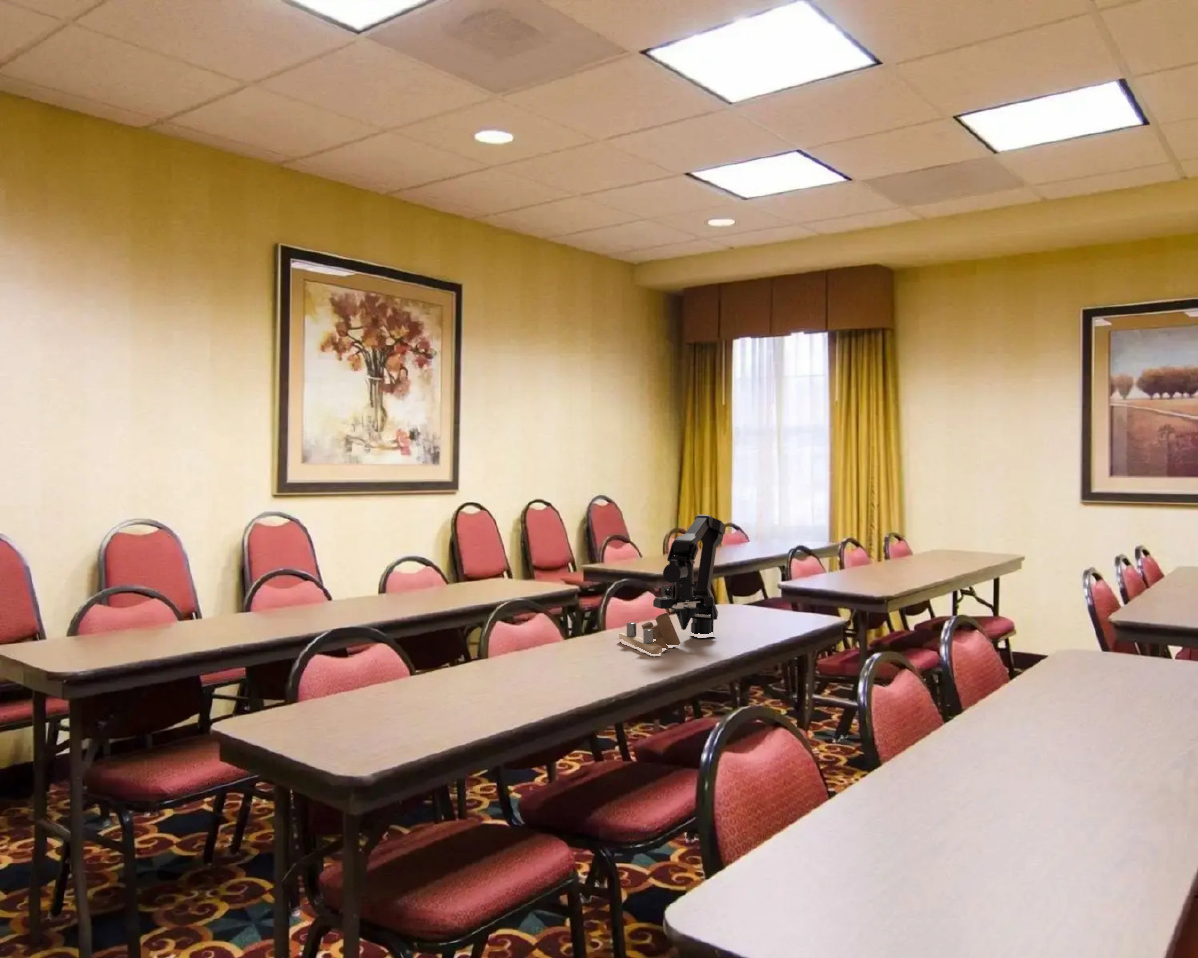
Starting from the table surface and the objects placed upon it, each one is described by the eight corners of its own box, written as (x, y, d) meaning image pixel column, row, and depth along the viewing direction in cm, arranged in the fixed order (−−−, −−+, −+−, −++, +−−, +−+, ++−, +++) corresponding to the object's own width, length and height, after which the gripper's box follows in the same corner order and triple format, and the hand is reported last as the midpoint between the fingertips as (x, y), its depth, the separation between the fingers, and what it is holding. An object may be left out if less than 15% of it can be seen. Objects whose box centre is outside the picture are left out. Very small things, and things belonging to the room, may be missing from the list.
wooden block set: (645, 649, 293) (632, 620, 293) (669, 638, 295) (656, 608, 295) (662, 658, 276) (649, 627, 275) (687, 646, 278) (674, 615, 277)
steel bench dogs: (633, 644, 289) (633, 622, 289) (654, 653, 275) (655, 630, 275) (624, 645, 288) (625, 622, 288) (645, 654, 274) (646, 630, 274)
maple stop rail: (627, 641, 293) (627, 632, 293) (661, 656, 271) (661, 646, 271) (619, 642, 292) (619, 633, 292) (652, 657, 270) (652, 646, 270)
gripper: (697, 575, 298) (697, 623, 298) (645, 577, 291) (645, 627, 291) (715, 579, 288) (714, 629, 288) (661, 581, 280) (661, 633, 281)
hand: (683, 629), depth 287 cm, fingers closed
